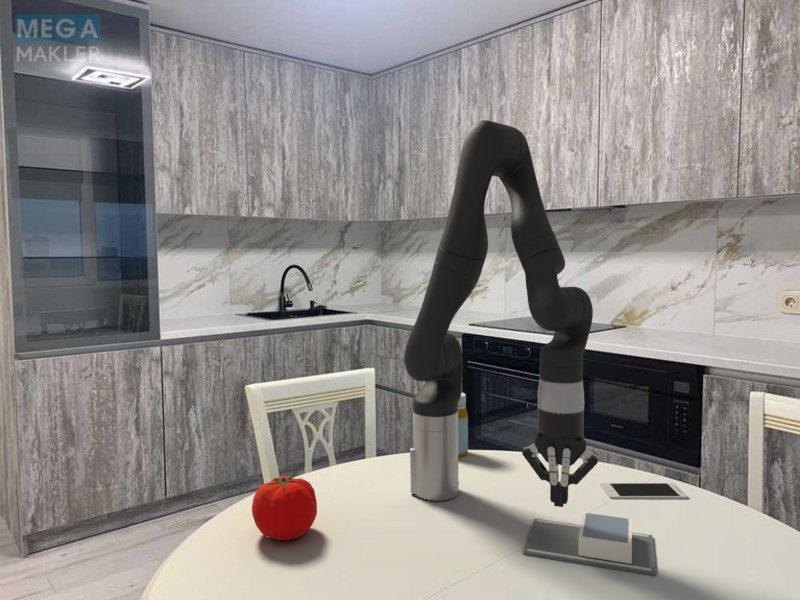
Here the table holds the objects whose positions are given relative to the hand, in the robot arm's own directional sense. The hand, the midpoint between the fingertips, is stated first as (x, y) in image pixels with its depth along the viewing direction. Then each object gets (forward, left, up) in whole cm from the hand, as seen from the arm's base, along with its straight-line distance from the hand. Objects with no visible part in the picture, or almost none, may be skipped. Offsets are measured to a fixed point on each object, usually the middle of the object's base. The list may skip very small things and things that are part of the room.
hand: (559, 504), depth 101 cm
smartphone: (+14, +27, -7) cm, 31 cm away
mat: (+5, 0, -6) cm, 8 cm away
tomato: (-46, -13, -7) cm, 48 cm away
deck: (+8, 0, -4) cm, 9 cm away
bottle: (-29, +37, -7) cm, 47 cm away
